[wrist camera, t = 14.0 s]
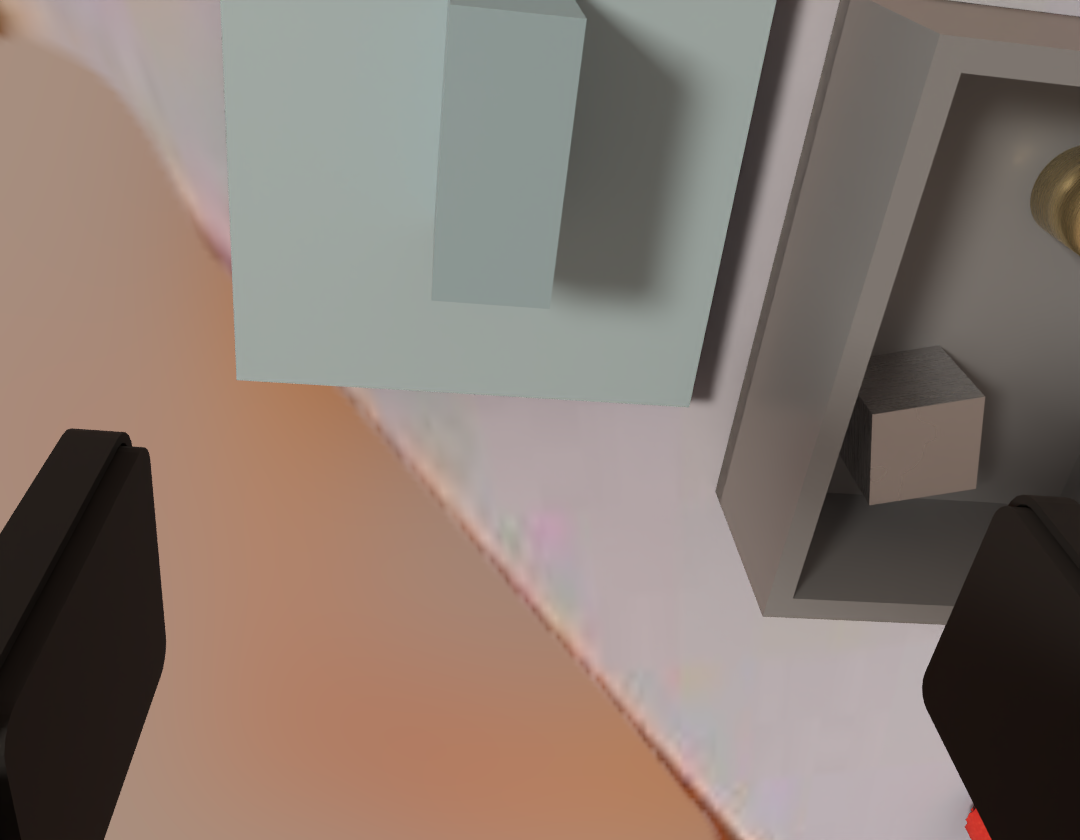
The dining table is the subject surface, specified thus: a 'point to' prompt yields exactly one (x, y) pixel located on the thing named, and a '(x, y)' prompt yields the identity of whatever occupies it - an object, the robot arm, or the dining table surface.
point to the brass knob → (1059, 198)
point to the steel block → (914, 427)
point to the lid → (484, 190)
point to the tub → (911, 304)
